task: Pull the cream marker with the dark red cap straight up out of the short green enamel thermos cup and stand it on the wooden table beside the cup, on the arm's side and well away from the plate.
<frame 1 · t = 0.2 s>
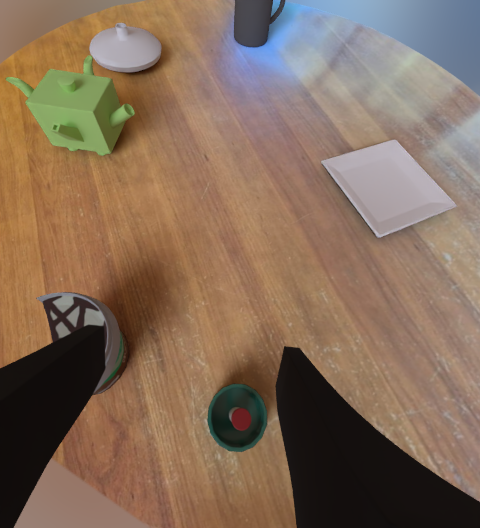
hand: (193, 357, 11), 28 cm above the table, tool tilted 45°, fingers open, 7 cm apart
grey lid: (130, 62, 66), on the table
kettle: (93, 137, 54), on the table
plate: (381, 190, 54), on the table
marker: (235, 414, 34), resting on thermos cup
mug: (257, 38, 75), on the table
thermos cup: (235, 414, 35), on the table
cake slice: (113, 347, 37), on the table
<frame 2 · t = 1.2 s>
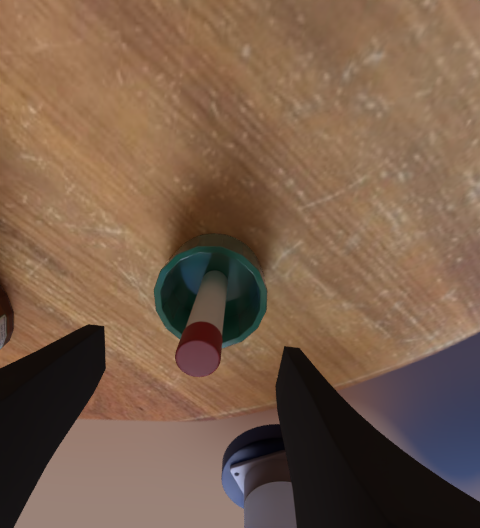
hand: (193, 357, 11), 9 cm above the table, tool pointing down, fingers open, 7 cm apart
marker: (215, 281, 20), resting on thermos cup
thermos cup: (215, 279, 20), on the table
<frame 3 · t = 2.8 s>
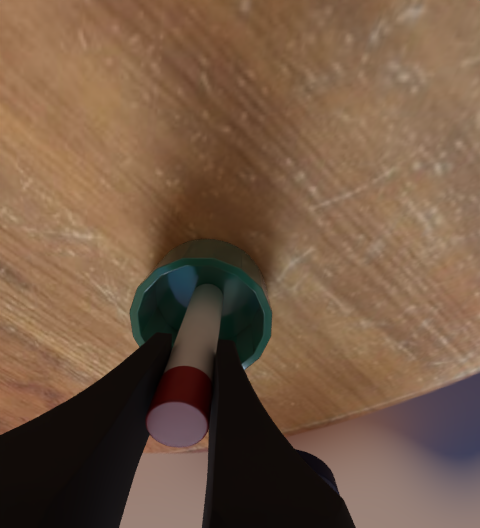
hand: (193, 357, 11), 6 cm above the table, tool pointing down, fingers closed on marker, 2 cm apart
marker: (207, 297, 16), point 1 cm above the table, touching gripper, thermos cup
thermos cup: (208, 293, 17), on the table
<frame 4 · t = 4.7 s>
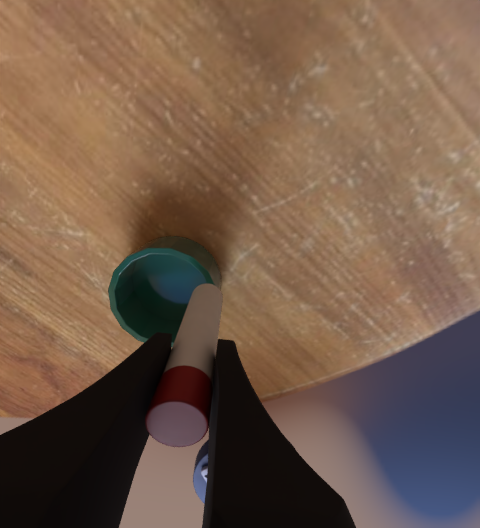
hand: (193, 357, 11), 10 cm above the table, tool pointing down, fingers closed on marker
marker: (207, 297, 16), point 4 cm above the table, touching gripper
thermos cup: (175, 280, 21), on the table
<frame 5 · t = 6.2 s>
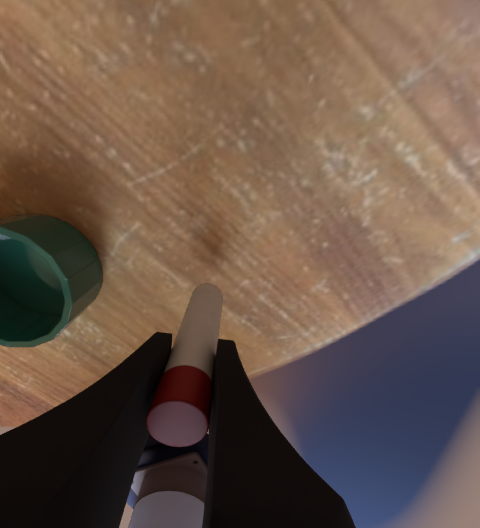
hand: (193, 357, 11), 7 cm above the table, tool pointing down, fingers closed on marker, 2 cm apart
marker: (207, 296, 16), point 2 cm above the table, touching gripper
thermos cup: (47, 267, 17), on the table
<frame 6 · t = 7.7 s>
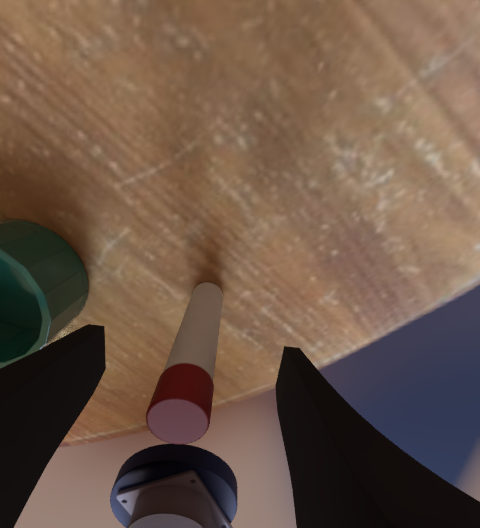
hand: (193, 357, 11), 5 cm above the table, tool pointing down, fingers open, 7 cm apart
marker: (207, 295, 16), on the table
thermos cup: (28, 278, 16), on the table
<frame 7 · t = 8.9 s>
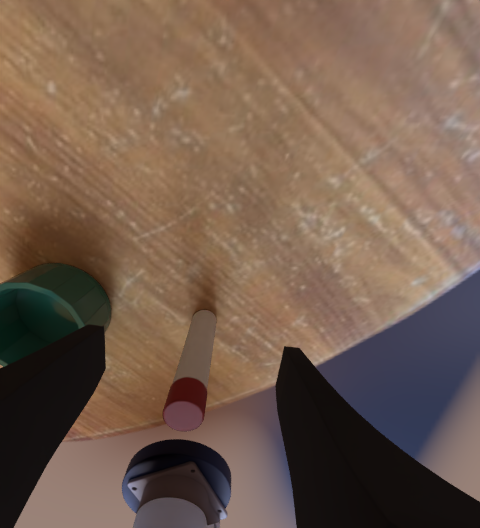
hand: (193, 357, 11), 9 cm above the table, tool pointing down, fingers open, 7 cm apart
marker: (204, 320, 21), on the table
thermos cup: (64, 306, 20), on the table
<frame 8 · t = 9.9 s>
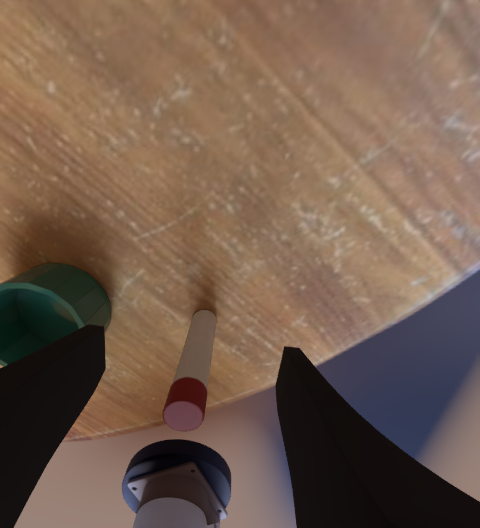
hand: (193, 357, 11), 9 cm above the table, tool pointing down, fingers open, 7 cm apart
marker: (204, 320, 21), on the table
thermos cup: (64, 306, 20), on the table
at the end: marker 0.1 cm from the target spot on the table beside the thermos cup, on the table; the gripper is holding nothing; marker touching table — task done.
